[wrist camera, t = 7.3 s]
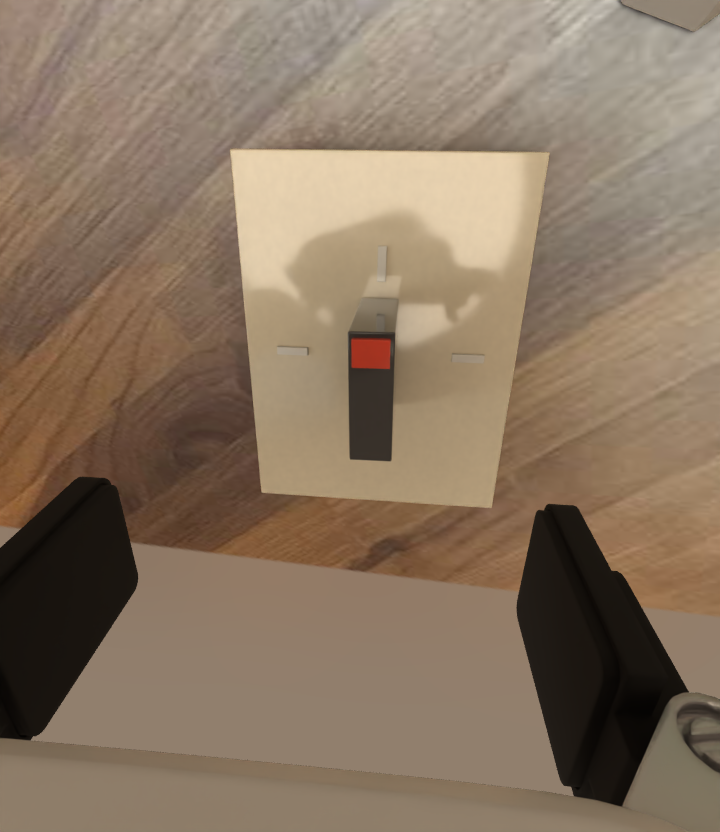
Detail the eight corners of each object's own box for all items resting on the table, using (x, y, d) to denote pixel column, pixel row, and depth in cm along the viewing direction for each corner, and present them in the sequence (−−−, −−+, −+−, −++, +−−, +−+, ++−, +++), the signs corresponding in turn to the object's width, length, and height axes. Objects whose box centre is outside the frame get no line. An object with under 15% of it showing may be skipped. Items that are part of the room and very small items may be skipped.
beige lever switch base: (484, 476, 28) (492, 510, 25) (275, 463, 28) (260, 494, 26) (532, 155, 20) (551, 151, 18) (252, 151, 21) (227, 148, 19)
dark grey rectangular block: (395, 405, 23) (391, 465, 18) (361, 404, 23) (348, 463, 18) (398, 298, 21) (395, 334, 16) (361, 297, 21) (346, 333, 16)
